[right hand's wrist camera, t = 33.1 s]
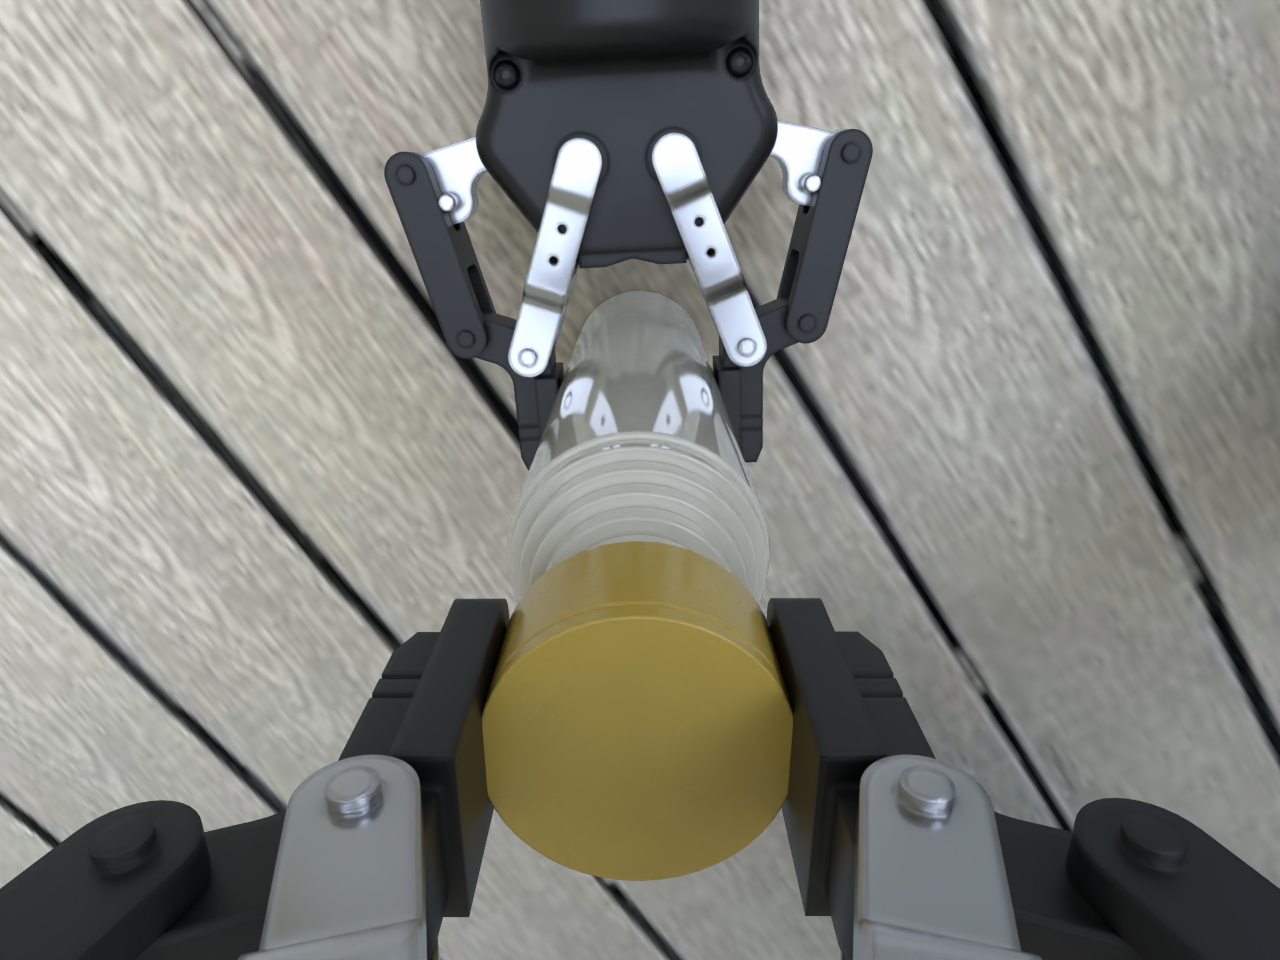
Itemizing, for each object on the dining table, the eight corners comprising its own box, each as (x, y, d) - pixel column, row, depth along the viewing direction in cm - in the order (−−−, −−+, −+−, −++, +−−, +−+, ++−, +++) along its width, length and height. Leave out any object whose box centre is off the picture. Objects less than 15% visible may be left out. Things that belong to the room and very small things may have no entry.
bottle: (629, 437, 34) (609, 918, 12) (550, 343, 33) (371, 694, 11) (726, 363, 33) (897, 746, 11) (650, 263, 32) (672, 473, 10)
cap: (709, 801, 13) (722, 915, 11) (469, 725, 13) (436, 831, 11) (818, 592, 12) (854, 680, 10) (555, 499, 11) (536, 570, 9)
